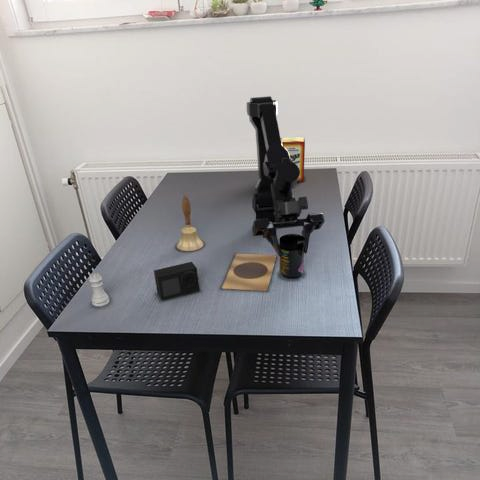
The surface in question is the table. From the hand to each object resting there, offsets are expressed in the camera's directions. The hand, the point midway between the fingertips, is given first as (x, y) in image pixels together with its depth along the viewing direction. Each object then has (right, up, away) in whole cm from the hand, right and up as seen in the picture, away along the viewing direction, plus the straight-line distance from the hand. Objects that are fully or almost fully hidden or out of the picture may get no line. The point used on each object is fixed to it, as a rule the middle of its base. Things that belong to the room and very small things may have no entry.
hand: (293, 254), depth 127 cm
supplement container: (0, -5, +5) cm, 7 cm away
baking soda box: (+8, +41, +73) cm, 84 cm away
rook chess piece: (-50, -13, -3) cm, 51 cm away
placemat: (-11, -4, +7) cm, 14 cm away
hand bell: (-29, +6, +23) cm, 38 cm away
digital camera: (-30, -10, -1) cm, 32 cm away
